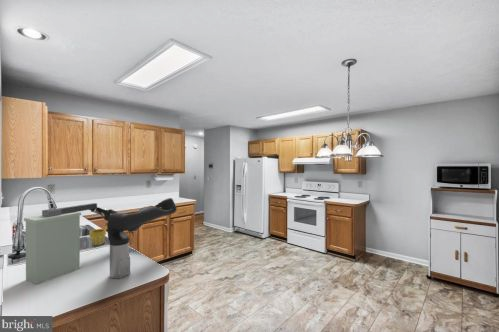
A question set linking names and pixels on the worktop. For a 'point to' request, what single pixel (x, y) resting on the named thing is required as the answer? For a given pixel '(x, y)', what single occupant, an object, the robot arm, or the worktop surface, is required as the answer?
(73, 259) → the tall capped green box
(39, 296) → the worktop surface
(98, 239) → the plant pot
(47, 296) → the worktop surface
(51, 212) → the long gray t-shaped bar
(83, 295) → the worktop surface
